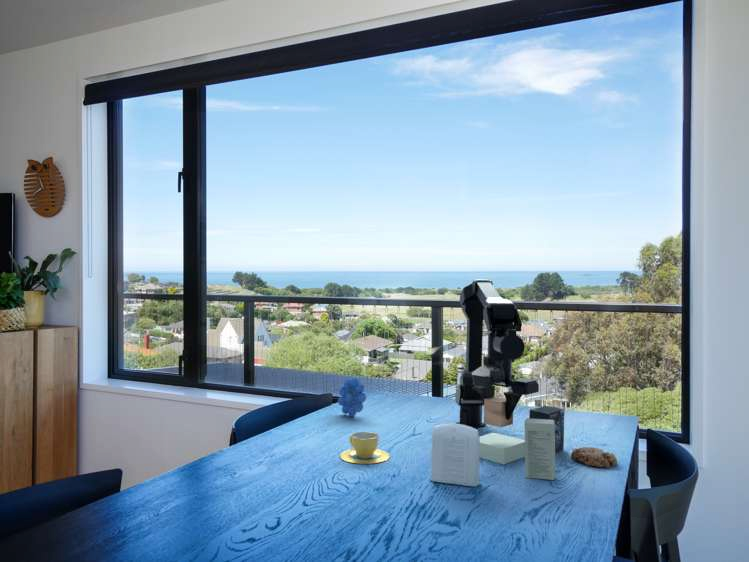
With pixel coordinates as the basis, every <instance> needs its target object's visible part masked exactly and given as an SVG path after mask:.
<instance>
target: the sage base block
mask: <svg viewBox="0 0 749 562" xmlns="http://www.w3.org/2000/svg"><path fill="white" fill-rule="evenodd" d="M479 438H480V455H479V459H480V458H481V459H484V460H487V461H491V462H494V463H498V464H502V465H506V464H509V463H511V462H513V461H516V460H520V459H522V458H525V439H523V438H517V437H513V436H509V435H505V434H501V433H496V432H490V433H486V434H484V435H481V436H479Z"/></svg>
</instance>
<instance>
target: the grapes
mask: <svg viewBox="0 0 749 562" xmlns="http://www.w3.org/2000/svg"><path fill="white" fill-rule="evenodd" d="M365 388H366V386H365V385H364V384H363V383H361V382H360V381H359V379H358V378H357V377H353V378H351V379H349V378H346V379H345V380H344V382H343V386H340V387H339V389H338V394H339V395H340V397H339V398H338V399H337V403H338V405H339V406H342V407H341V412H342V413H343V414H346V415H347V414H348V415H349V417H355V416H356V415H357V414H358V413H361V412H362V411H363V409H364V404H363V403H365V402H366V401H367V395H366V394H365V393H364V390H365Z"/></svg>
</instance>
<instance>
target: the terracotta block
mask: <svg viewBox="0 0 749 562" xmlns="http://www.w3.org/2000/svg"><path fill="white" fill-rule="evenodd" d="M483 423H484V424H486V425H490V426H492V427H496V428H504V427H508V426H511V425H514V412H513V413H512V416H511V418H510V419H509V420H506V398H505V397H502V396H497V395H496V396H495V395H494V397H491V398H486V399H484V405H483Z"/></svg>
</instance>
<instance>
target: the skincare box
mask: <svg viewBox="0 0 749 562" xmlns="http://www.w3.org/2000/svg"><path fill="white" fill-rule="evenodd" d="M524 440H525V457H524V464H525V465H524V468H525V469H524V473H525V476H524V477H525V478H529V479H539V480H549V481H550V480H551V481H554V480H555V479H556V453H555V424H554V420H547V419H530V418H528V417H527V418H526V419H525V420H524Z"/></svg>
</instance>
